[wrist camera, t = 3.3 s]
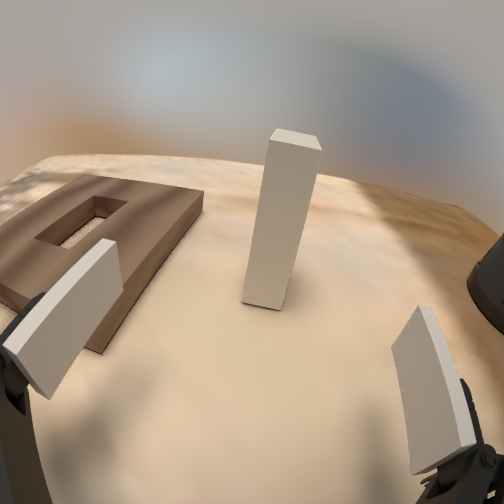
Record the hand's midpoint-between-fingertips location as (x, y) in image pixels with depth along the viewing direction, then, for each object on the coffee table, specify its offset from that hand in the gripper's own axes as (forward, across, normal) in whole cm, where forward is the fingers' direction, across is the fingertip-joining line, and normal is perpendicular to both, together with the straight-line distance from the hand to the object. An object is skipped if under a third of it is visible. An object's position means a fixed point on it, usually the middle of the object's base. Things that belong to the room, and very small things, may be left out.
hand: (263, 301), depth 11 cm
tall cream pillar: (+10, 0, -7) cm, 12 cm away
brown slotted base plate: (+10, -18, -7) cm, 22 cm away
